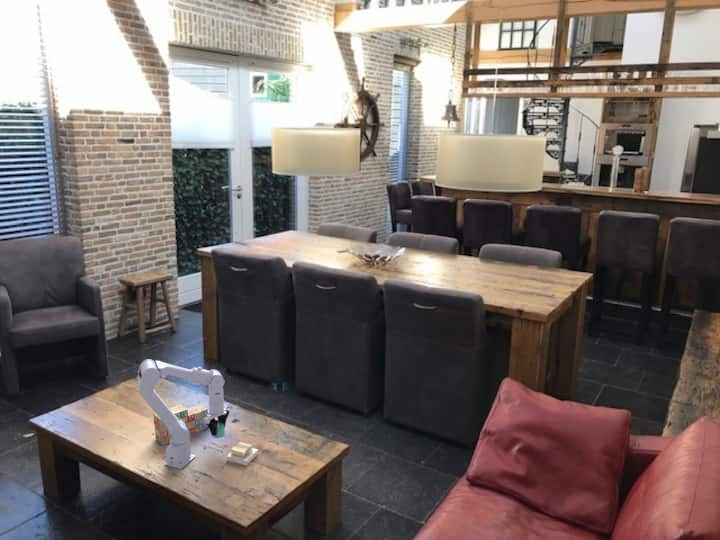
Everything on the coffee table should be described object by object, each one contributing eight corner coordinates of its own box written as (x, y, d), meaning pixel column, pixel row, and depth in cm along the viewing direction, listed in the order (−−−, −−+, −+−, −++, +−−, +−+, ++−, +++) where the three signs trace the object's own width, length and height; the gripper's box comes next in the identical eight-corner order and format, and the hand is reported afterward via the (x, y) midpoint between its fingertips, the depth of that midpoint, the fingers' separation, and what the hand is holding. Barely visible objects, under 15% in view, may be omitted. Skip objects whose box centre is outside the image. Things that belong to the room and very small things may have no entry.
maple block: (243, 458, 234) (243, 452, 233) (231, 454, 236) (230, 449, 236) (252, 450, 239) (252, 445, 238) (240, 447, 241) (239, 441, 241)
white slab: (246, 466, 233) (246, 461, 232) (226, 461, 236) (226, 456, 235) (258, 454, 241) (258, 449, 240) (239, 450, 244) (239, 444, 243)
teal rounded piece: (220, 438, 237) (219, 429, 236) (209, 436, 239) (208, 427, 238) (227, 432, 242) (226, 423, 241) (216, 430, 243) (215, 421, 242)
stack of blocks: (202, 423, 264) (200, 397, 261) (209, 428, 259) (207, 402, 256) (155, 439, 250) (153, 412, 247) (161, 445, 246) (159, 418, 243)
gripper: (214, 410, 228) (215, 442, 232) (235, 394, 241) (236, 424, 245) (198, 407, 231) (200, 438, 234) (220, 391, 244) (221, 421, 247)
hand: (218, 431), depth 240 cm, fingers closed on teal rounded piece, 5 cm apart
